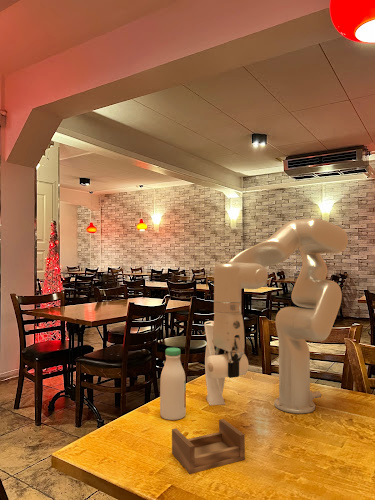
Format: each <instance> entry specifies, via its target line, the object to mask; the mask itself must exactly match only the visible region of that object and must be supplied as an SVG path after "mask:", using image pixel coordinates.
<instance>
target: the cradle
mask: <svg viewBox="0 0 375 500" xmlns="http://www.w3.org/2000/svg"><path fill="white" fill-rule="evenodd" d="M245 441H246V435H245V434H244V433H243V432H242V431H241V430H239V429H238V428H236V427H235V426H234V425H232V424H231V423H230V422H228V421H227V420H225V419H224V418H222V419H219V420H218V432H214V433H209V434H205V435H200V436H196V437H191V438H187V437H186V436H185V435H184V434H183V433H182V432H181V431H180V430H179V429H178V428H172V429H171V454H172V455H173V457H174V458H175V459H176V460H177V461H178V462H179V463H180V465H182V467H183V468H184V469H185V471H186V472H188V473H189V475H190V474H195V473H197V472H202V471H206V470H210V469H214V468H217V467H221V466H225V465H228V464H232V463H236V462H240V461H245V460H246V456H245V455H246V452H245V451H246V450H245V449H246V444H245V443H246V442H245Z"/></svg>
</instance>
